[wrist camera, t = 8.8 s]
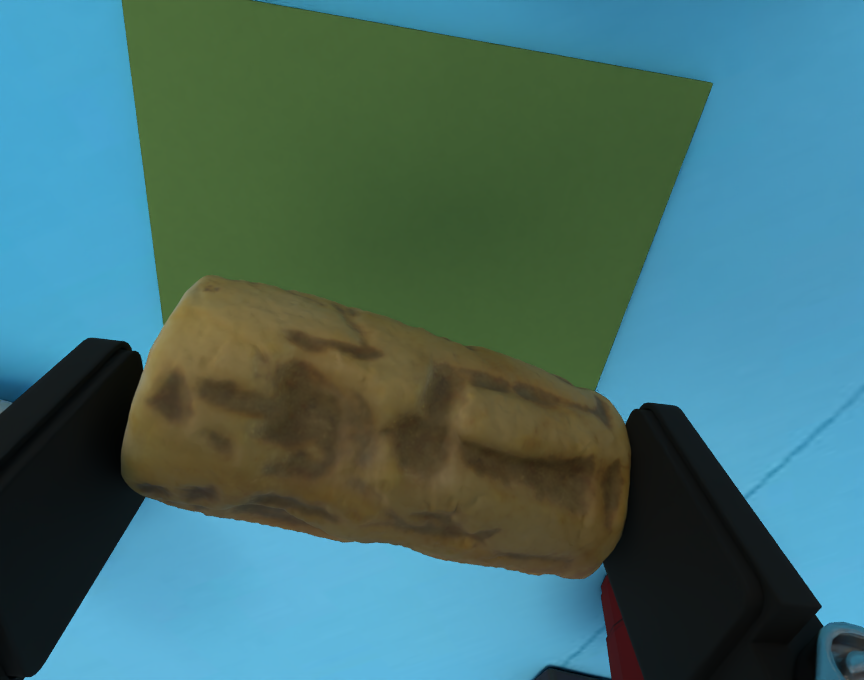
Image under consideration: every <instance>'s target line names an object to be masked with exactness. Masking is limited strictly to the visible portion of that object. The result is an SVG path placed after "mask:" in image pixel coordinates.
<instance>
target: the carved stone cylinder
mask: <svg viewBox="0 0 864 680" xmlns="http://www.w3.org/2000/svg"><path fill="white" fill-rule="evenodd" d="M630 469H631V447H630V443H629V438H628V433H627V429H626V426H625V423H624V421H623V419H622V417H621V416H620V414H619V413H618V411H617V410H616V408H615V407H614V406H613V404H612V403H611V402H610V401H609V400H608V399H607V398H606V397H604V396H602V395H601V394H599V393H597V392H595V391H593V390H590V389H587V388H583V387H575V386H574V385H572V384H571V383H570V382H569V381H568V380H566V379H564V378H562V377H560V376H557V375H555V374H550V373H548V372H546V371H545V370H543V369H541V368H538V367H536V366H534V365H531V364H528V363H525V362H523V361H521V360H519V359H515V358H512V357H510V356H508V355H504V354H502V353H499V352H495V351H492V350H490V349H487V348H484V347H479V346H463V345H462V344H460V343H457V342H453V341H451V340H449V339H448V338H446V337H438V336H436V335H434V334H432V333H430V332H428V331H426V330H425V329H423V328H420V327H418V328H416V327H411V326H408V325H406V324H403V323H402V322H400V321H397V320H394V319H392V318H389V317H387V316H383V315H379V314H375V313H372V312H369V311H363V310H361V309H359V308H354V307H346V306H345V305H342V304H339V303H337V302H334V301H331V300H328V299H325V298H322V297H318V296H315V295H312V294H307V293H301V292H298V291H296V290H284V289H281V288H279V287H277V286H272V285H267V284H264V283H255V282H248V281H245V280H229V279H225V278H223V277H220V276H216V275H207V276H204V277H202V278H201V279H199V280H198V281H197V282H196V283H195V284H194V285H193V286H192V287H190V288H189V289H188V290H187V291H186V292H185V294H184V295H183V297H182V298H181V300H180V302H179V303H178V305H177V306H176V308H175V309H174V311H173V312H172V313H171V315H170V316H169V318H168V320H167V321H166V323H165V324H164V326H163V328H162V330H161V332H160V334H159V335H158V337H157V339H156V340H155V342H154V344H153V346H152V347H151V349H150V352H149V354H148V358H147V362H146V365H145V368H144V370H143V373H142V375H141V378H140V381H139V384H138V387H137V389H136V392H135V395H134V398H133V401H132V404H131V409H130V412H129V417H128V423H127V426H126V430H125V434H124V439H123V444H122V449H121V475H122V477H123V479H124V480H125V482H126V483H127V484H128V486H129V487H130V488H131V489H133V490H134V491H135V492H137V493H138V494H140V495H142V496H145V497H148V498H151V499H155V500H158V501H160V502H163V503H165V504H167V505H170V506H175V507H177V508H181V509H185V510H190V511H196V512H201V513H203V514H204V515H206V516H214V517H219V518H228V519H231V518H233V519H235V520H244V521H247V522H251V523H259V524H262V525H269V526H272V527H280V528H283V529H288V530H294V531H297V532H303V533H307V534H311V535H314V536H317V537H322V538H327V539H331V540H335V541H340V542H354V541H356V542H360V543H375V542H378V543H389V544H393V545H402V546H403V547H408V548H411V549H412V550H414V551H417V552H420V553H422V554H424V555H427V556H431V557H433V558H437V559H442V560H445V561H448V560H449V561H453V562H459V563H467V564H474V565H482V566H485V567H487V566H488V567H490V566H491V567H495V568H498V567H501V568H505V569H507V570H513V571H519V572H521V573H527V574H533V575H538V576H540V575H542V574H555V575H557V576H560V577H562V578H568V579H584V578H587V577H588V576H590V575H591V574H593V573H594V572H595V571H596V570H597V569H598V568H599V567H600V566H601V564H602V563H603V561H604V560H605V559H606V558H607V557H608V556H609V555H610V554H611V552H612V551H613V550H614V548H615V547H616V545H617V543H618V542H619V540H620V538H621V536H622V532H623V528H624V524H625V520H626V516H627V508H628V497H629V487H630Z"/></svg>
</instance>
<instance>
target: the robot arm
mask: <svg viewBox="0 0 864 680" xmlns="http://www.w3.org/2000/svg"><path fill="white" fill-rule="evenodd" d="M142 373H143V366H142V359H141V356H140V354H139V352H137V351H132V349H131V347H130V345H129V344H128V343H127V342H125V341H116V340H108V339H99V338H87V339H86V340H84V341H83V342H82V343H80V344H79V345H78V346H77V347H76V348H75V349H74V350H72V351H71V352H70V353H69V354H68V355H67V356H66V357H64V358H63V359H62V360H61V361H60V362H59V363H58V364H56V365H55V366H54V367H53V368H52V369H51V370H50V371H49V372H47V373H46V374H45V375H44V376H43V377H42V378H41V379H39V380H38V381H37V382H36V383H35V384H34V385H33V386H31V387H30V388H29V389H28V390H27V391H26V392H25V393H23V394H22V395H21V396H20V397H19V398H18V399H17V400H15V401H14V402H13V403H12V404H11V405H10V406H9V407H7V408H6V409H5V410H4V411H3V412H2V413H1V414H0V680H23V679H24V678H25V677H32V676H33V675H35V674H36V673H37V672H38V671H39V670H40V669H41V668H42V666H43V665H44V663H45V662H46V660H47V659H48V657H49V655H50V654H51V652H52V650H53V649H54V647H55V645H56V644H57V642H58V640H59V639H60V637H61V635H62V634H63V632H64V631H65V629H66V627H67V626H68V624H69V622H70V621H71V619H72V617H73V616H74V614H75V612H76V611H77V609H78V608H79V606H80V604H81V603H82V601H83V599H84V598H85V596H86V594H87V593H88V591H89V589H90V588H91V586H92V585H93V583H94V581H95V580H96V578H97V576H98V575H99V573H100V571H101V570H102V568H103V566H104V565H105V563H106V561H107V560H108V558H109V557H110V555H111V553H112V552H113V550H114V548H115V547H116V545H117V543H118V542H119V540H120V538H121V537H122V535H123V534H124V532H125V530H126V529H127V527H128V525H129V524H130V522H131V520H132V519H133V517H134V515H135V514H136V512H137V511H138V509H139V507H140V506H141V504H142V502H143V501H144V499H145V496H142V495H140V494H138V493H137V492H135V491H134V490H133V489H131V488H130V487H129V486H128V484H127V483H126V482H125V480H124V479H123V477H122V475H121V449H122V444H123V439H124V434H125V430H126V426H127V423H128V417H129V412H130V409H131V404H132V401H133V398H134V395H135V392H136V389H137V387H138V384H139V381H140V378H141V375H142ZM625 426H626V429H627V433H628V438H629V443H630V447H631V469H630V487H629V497H628V508H627V516H626V520H625V524H624V528H623V532H622V536H621V538H620V540H619V542H618V543H617V545H616V547H615V548H614V550H613V551H612V552H611V554H610V555H609V556H608V557H607V558H606V559H605V560H604V561H603V564H604V567H605V570H606V573H607V575H608V578H609V581H610V584H611V587H612V590H613V592H614V595H615V598H616V601H617V604H618V607H619V610H620V612H621V615H622V618H623V621H624V624H625V627H626V629H627V632H628V635H629V638H630V641H631V644H632V646H633V649H634V652H635V655H636V658H637V661H638V663H639V666H640V669H641V672H642V675H643V678H644V680H864V628H863V627H861V626H857V625H853V624H849V623H845V622H834V623H829V624H827V625H826V626H824V627H823V625H822V624H821V622H820V621H819V619H818V618H817V616H816V615H815V614H816V613H817V612H818V611H819V609H820V608H821V607H822V606H821V605H820V603H819V602H818V600H817V599H816V598H815V596H814V595H813V593H812V592H811V591H810V589H809V588H808V586H807V585H806V584H805V582H804V581H803V579H802V578H801V577H800V575H799V574H798V572H797V571H796V570H795V568H794V567H793V565H792V564H791V563H790V561H789V560H788V558H787V557H786V556H785V554H784V553H783V551H782V550H781V549H780V547H779V546H778V544H777V543H776V542H775V540H774V539H773V537H772V536H771V535H770V533H769V532H768V530H767V529H766V528H765V526H764V525H763V523H762V522H761V521H760V519H759V518H758V516H757V515H756V514H755V512H754V511H753V509H752V508H751V507H750V505H749V504H748V502H747V501H746V500H745V498H744V497H743V495H742V494H741V493H740V491H739V490H738V488H737V487H736V486H735V484H734V483H733V481H732V480H731V479H730V477H729V476H728V475H727V473H726V472H725V470H724V469H723V468H722V466H721V465H720V463H719V462H718V461H717V459H716V458H715V456H714V455H713V454H712V452H711V451H710V449H709V448H708V447H707V445H706V444H705V442H704V441H703V440H702V438H701V437H700V435H699V434H698V433H697V431H696V430H695V428H694V427H693V426H692V424H691V423H690V421H689V420H688V419H687V417H686V416H685V414H684V413H683V412H682V410H681V409H680V408H679V407H677V406H674V405H665V404H657V403H644V404H643V405H642V406H641V407H640V409H634V410H633V411H632V412H631V414H630V416H629V418H628V420H627V422H626V425H625Z"/></svg>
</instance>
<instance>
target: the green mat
mask: <svg viewBox="0 0 864 680" xmlns="http://www.w3.org/2000/svg"><path fill="white" fill-rule="evenodd" d="M122 6H123V14H124V22H125V30H126V37H127V45H128V53H129V61H130V69H131V76H132V84H133V92H134V100H135V107H136V115H137V123H138V131H139V139H140V146H141V154H142V162H143V170H144V177H145V185H146V193H147V201H148V209H149V216H150V224H151V232H152V240H153V248H154V255H155V263H156V271H157V279H158V286H159V294H160V302H161V310H162V318H163V325H164V324H165V323H166V321H167V320H168V318H169V316H170V315H171V313H172V312H173V311H174V309H175V308H176V306H177V305H178V303H179V302H180V300H181V298H182V297H183V295H184V294H185V292H186V291H187V290H188V289H189V288H190V287H192V286H193V285H194V284H195V283H196V282H197V281H198V280H199V279H201V278H202V277H204V276H207V275H216V276H220V277H223V278H225V279H229V280H245V281H248V282H255V283H264V284H267V285H272V286H277V287H279V288H281V289H284V290H296V291H298V292H301V293H307V294H312V295H315V296H318V297H322V298H325V299H328V300H331V301H334V302H337V303H339V304H342V305H345V306H346V307H354V308H359V309H361V310H363V311H369V312H372V313H375V314H379V315H383V316H387V317H389V318H392V319H394V320H397V321H400V322H402V323H403V324H406V325H408V326H411V327H416V328H418V327H420V328H423V329H425V330H426V331H428V332H430V333H432V334H434V335H436V336H438V337H446V338H448V339H449V340H451V341H453V342H457V343H460V344H462V345H463V346H479V347H484V348H487V349H490V350H492V351H495V352H499V353H502V354H504V355H508V356H510V357H512V358H515V359H519V360H521V361H523V362H525V363H528V364H531V365H534V366H536V367H538V368H541V369H543V370H545V371H546V372H548V373H550V374H555V375H557V376H560V377H562V378H564V379H566V380H568V381H569V382H570V383H571V384H572V385H574V386H575V387H583V388H587V389H590V390H593V391H595V389H596V387H597V384H598V381H599V379H600V376H601V374H602V371H603V368H604V366H605V363H606V361H607V358H608V355H609V353H610V350H611V348H612V345H613V342H614V340H615V337H616V335H617V332H618V329H619V327H620V324H621V322H622V319H623V316H624V314H625V311H626V309H627V306H628V303H629V301H630V298H631V296H632V293H633V290H634V288H635V285H636V283H637V280H638V277H639V275H640V272H641V270H642V267H643V264H644V262H645V259H646V257H647V254H648V251H649V249H650V246H651V244H652V241H653V238H654V236H655V233H656V231H657V228H658V225H659V223H660V220H661V218H662V215H663V213H664V210H665V207H666V205H667V202H668V200H669V197H670V194H671V192H672V189H673V187H674V184H675V181H676V179H677V176H678V174H679V171H680V168H681V166H682V163H683V161H684V158H685V155H686V153H687V150H688V148H689V145H690V142H691V140H692V137H693V135H694V132H695V129H696V127H697V124H698V122H699V119H700V116H701V114H702V111H703V109H704V106H705V103H706V101H707V98H708V96H709V93H710V90H711V88H712V85H713V83H711V82H706V81H700V80H694V79H689V78H683V77H678V76H672V75H667V74H661V73H655V72H650V71H644V70H639V69H633V68H627V67H622V66H616V65H611V64H605V63H599V62H594V61H588V60H583V59H577V58H572V57H566V56H560V55H555V54H549V53H544V52H538V51H532V50H527V49H521V48H516V47H510V46H505V45H499V44H493V43H488V42H482V41H477V40H471V39H465V38H460V37H454V36H449V35H443V34H438V33H432V32H426V31H421V30H415V29H410V28H404V27H398V26H393V25H387V24H382V23H376V22H371V21H365V20H359V19H354V18H348V17H343V16H337V15H331V14H326V13H320V12H315V11H309V10H304V9H298V8H292V7H287V6H281V5H276V4H270V3H264V2H259V1H253V0H122Z"/></svg>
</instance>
